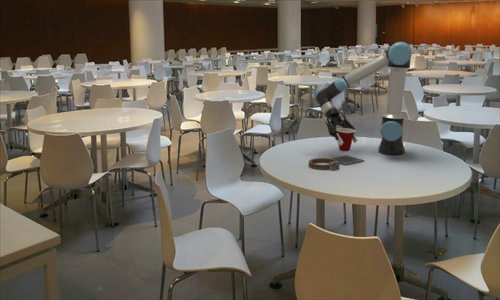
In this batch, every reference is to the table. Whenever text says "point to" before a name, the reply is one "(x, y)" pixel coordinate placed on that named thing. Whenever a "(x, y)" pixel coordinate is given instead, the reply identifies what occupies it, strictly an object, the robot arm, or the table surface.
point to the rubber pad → (347, 160)
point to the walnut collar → (331, 166)
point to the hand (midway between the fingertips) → (349, 142)
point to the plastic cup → (345, 138)
